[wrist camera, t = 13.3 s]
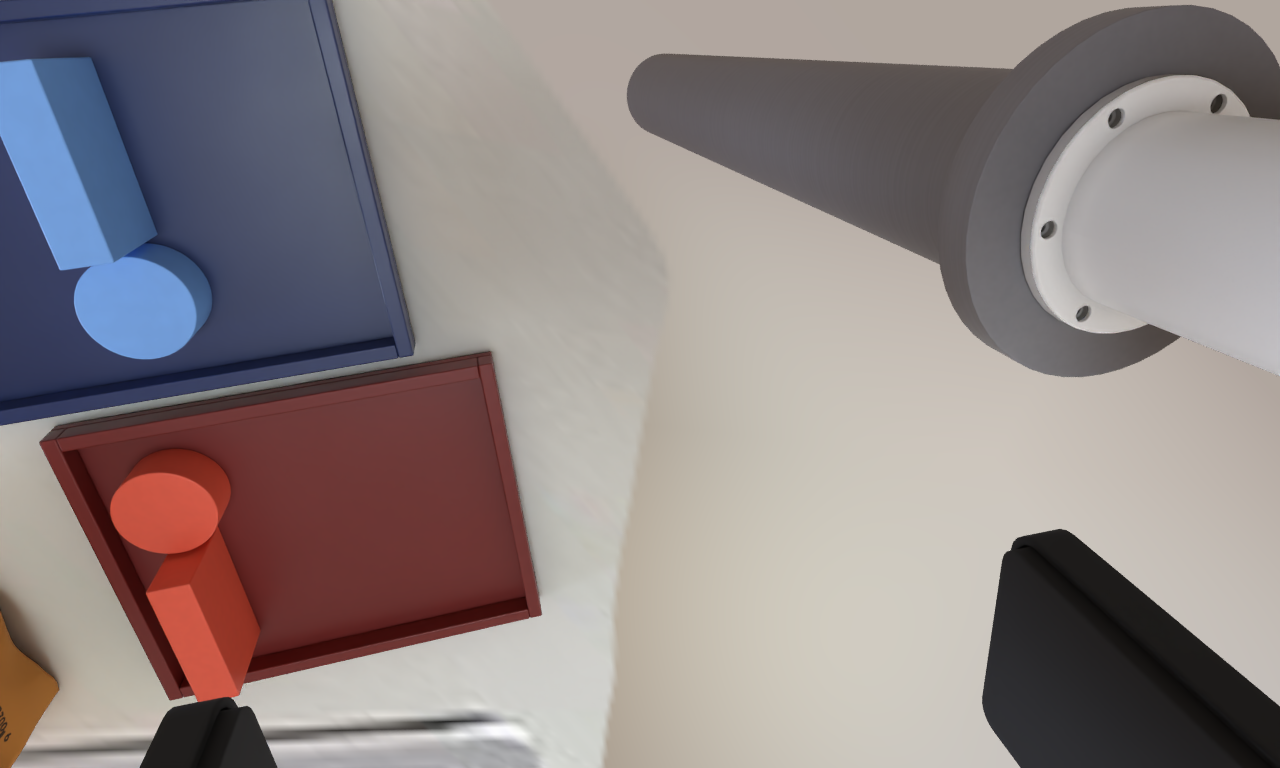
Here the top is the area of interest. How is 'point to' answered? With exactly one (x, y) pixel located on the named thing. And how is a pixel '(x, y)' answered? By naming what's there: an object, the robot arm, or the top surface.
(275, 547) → the maroon tray
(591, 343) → the top surface
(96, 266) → the blue spoon
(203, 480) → the coral spoon
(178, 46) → the navy tray
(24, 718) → the coffee package
